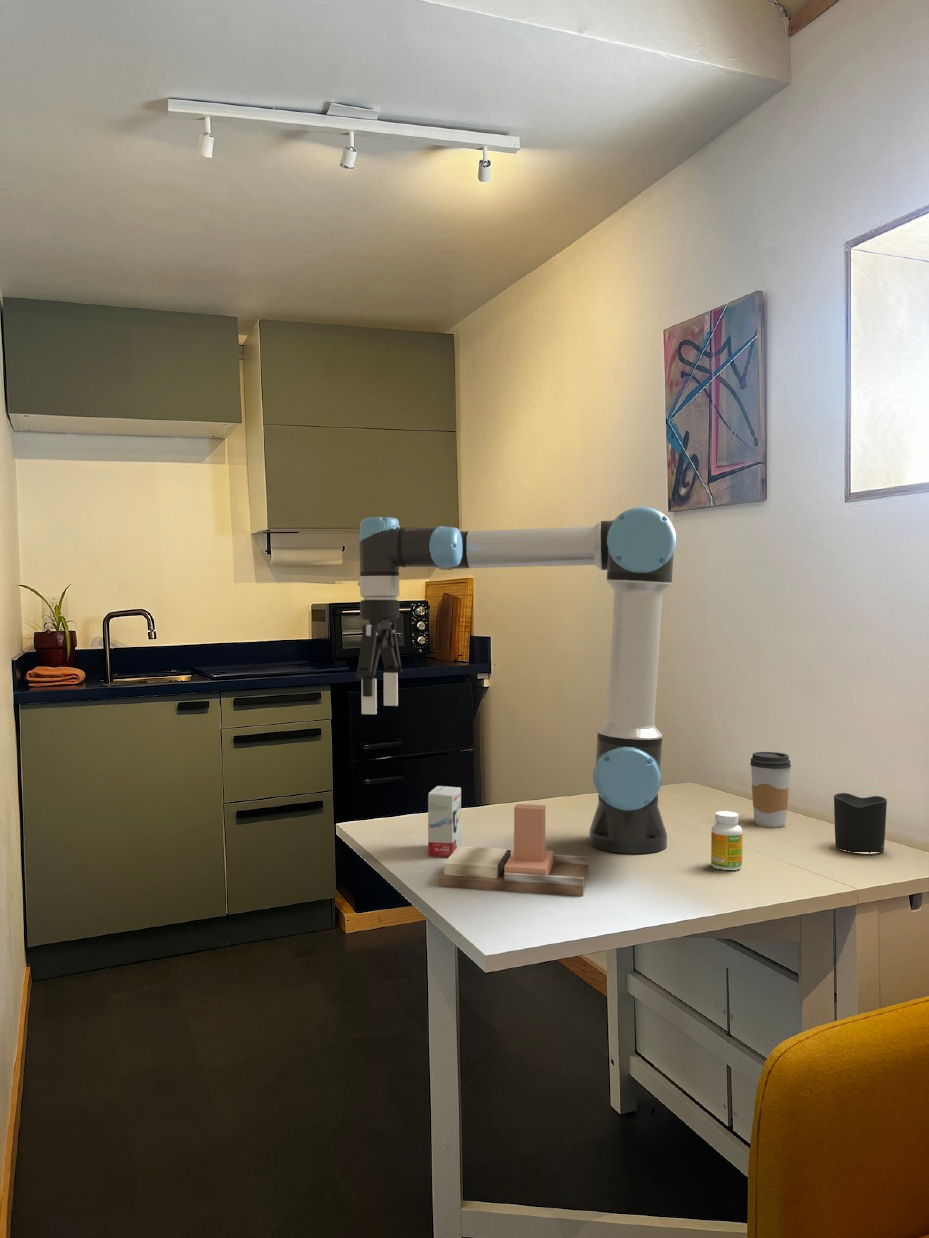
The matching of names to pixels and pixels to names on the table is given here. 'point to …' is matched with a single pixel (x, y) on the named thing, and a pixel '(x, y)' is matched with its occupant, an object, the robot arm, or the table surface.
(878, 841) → the pen holder
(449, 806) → the ink box
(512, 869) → the stub
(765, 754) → the coffee cup
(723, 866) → the supplement bottle
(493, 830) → the table surface
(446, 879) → the board
